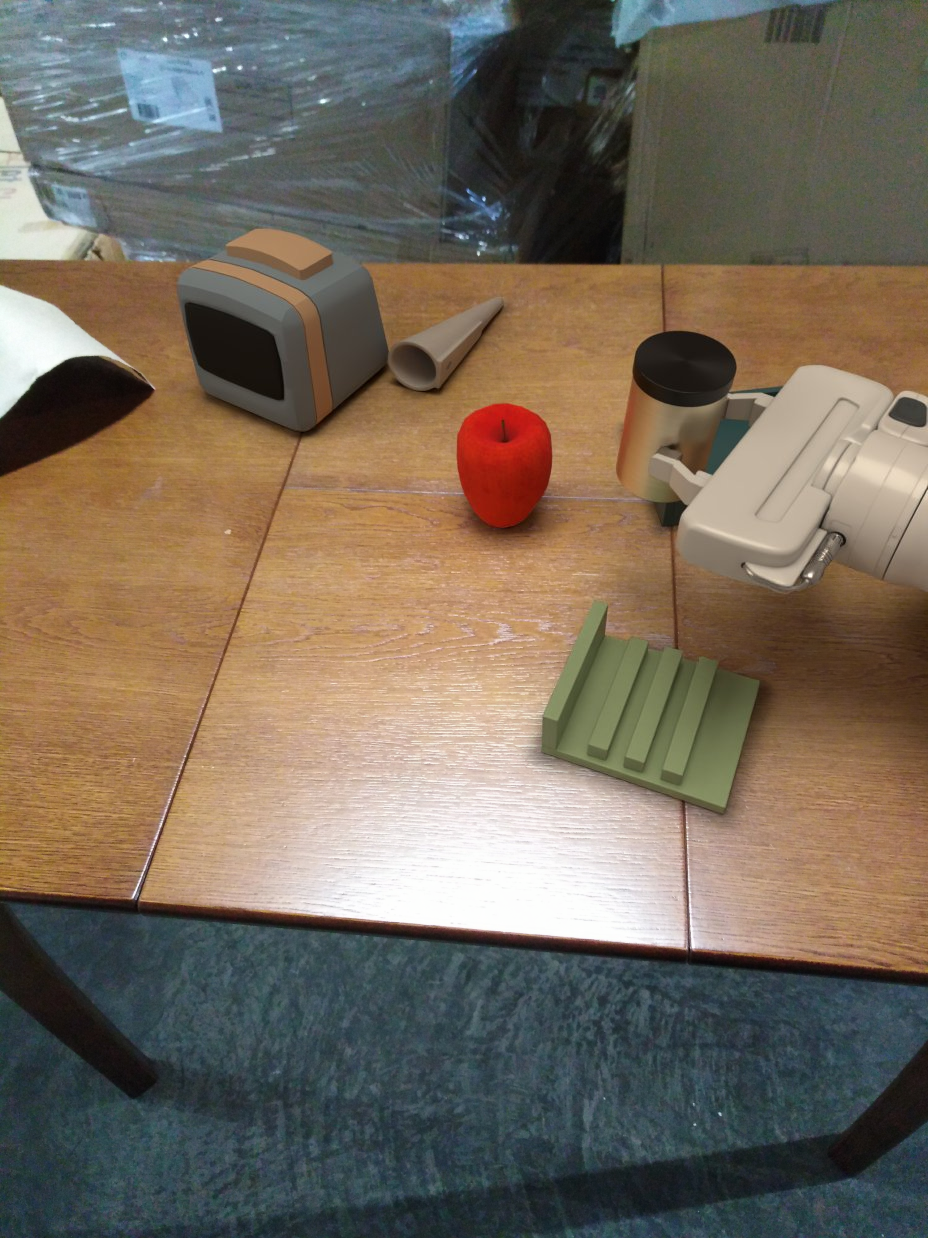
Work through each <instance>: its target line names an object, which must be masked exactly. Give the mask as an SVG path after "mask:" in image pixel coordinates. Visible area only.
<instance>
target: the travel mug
mask: <svg viewBox="0 0 928 1238" xmlns="http://www.w3.org/2000/svg"><path fill="white" fill-rule="evenodd" d="M737 368H738V366H737V360H736V357H735V356H734V354H733V353H732V351H731V350H730V349H729V347H727V346H726V345H724V344H723V342H720V341H719V340H717V339H716V338H714V337H711V336H709V335H707V334H703V333H699V332H697V331H691V330H689V331H688V330H667V331H662V332H658V333H656V334H653V335H650V336H649V337H646V338H645V339H644V340H643V341H642V342H641V343H640V344H639V345H638V346H637V348H636V350H635V353H634V357H633V364H632V368H631V369H632V371H631V373H632V377H631V382H630V387H629V392H628V399H627V404H626V410H625V414H624V419H623V425H622V431H621V436H620V441H619V447H618V453H617V457H616V464H615V473H616V477H617V479H618V480H619V482H620V483H621V485H622V487H624V488H625V490H627V491H628V492H630V493H631V494H632V495H634V496H636V497H638V498H640V499H643V500H646V501H650V502H653V501H654V502H663V503H668V502H676V501H680V500H681V499H680V498H679V497H678V495H677V494H676V493H675V492H674V490H673V489H672V488H671V487H670V484H669V483H666V482H664V481H661V480H659V479H657V478H654V477H652V476H651V475H650V474H649V473H648V467H649V460H650V458H651V457H652V456H653V455H654V454H655V453H656V451H657V450H658V449H659V448H661V447H663V446H666V447H669V448H670V450H677V451H679V452H682V453H683V456H682V461H681V463H682V464H683V465H684V466H685V467H687V468H688V469H689V470H690V471H691V472H692V473H693V474H694V475H695V474H696V473H697V471H703V472H705V471H706V467H707V464H708V460H709V457H710V454H711V450H712V447H713V443H714V440H715V437H716V433H717V430H718V426H719V423H720V420H721V416H722V413H723V409H724V406H725V403H726V399H727V396H728V392H731V390H732V387H733V383H734V380H735V377H736V373H737V370H738V369H737ZM654 502H653V503H654Z"/></svg>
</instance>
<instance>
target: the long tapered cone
mask: <svg viewBox="0 0 928 1238" xmlns="http://www.w3.org/2000/svg"><path fill="white" fill-rule="evenodd" d="M504 303H505V302H504V298H503V297H501V296H496V297H493V298H490V299H488V300H486V301H483V302H481V303H479V304H477V305H475V306H473V307H471V308H469V309H465V310H464V311H462V312H460V313H458V314H456V315H453V316H451V317H449V318H447V319H445V320H443V321H441V322H439V323H436V324H434V325H432V326H430V327H428V328H426V329H424V330H422V331H419V332H417V333H415V334H413V335H410V336H409V337H406V338H404V339H402V340H399V341H398V342H396V343H395V344H393V345H391V347H390V349H388V350H389V353H388V361H387V364H388V368H389V370H390V372H391V374H392V376H393V378H395V379H396V380H397V381H398V382H399V383H400V384H402V385H403V386H404V387H406V388H407V389H410V390H413V391H419V392H423V391H424V392H425V391H429V390H431V389H434V388H435V389H440V388H441V387H442V385H443V384H444V383H445V382H446V380H447V379H448V378H449V376H451V374H452V373H453V372H454V370H455V369H456V368H457V366H458V365H459V364H460V363H461V361H462V360H463V359H464V358H465V356H466V355H467V354H468V352H470V350H471V349H472V347H473V346H474V345H475V344H476V343H477V341H478V340H479V339H480V338H481V336H482V331H483V330H484V329H485V328H486V326H487V325H488V324H489V323H490V322H491V321H492V319H493V318H494V317H495V316H496V314H498V312H500V310H501V309H502V307H503V305H504Z"/></svg>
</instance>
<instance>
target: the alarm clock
mask: <svg viewBox="0 0 928 1238" xmlns="http://www.w3.org/2000/svg"><path fill="white" fill-rule="evenodd" d="M176 286H177V287H176V295H177V299H178V304H179V309H180V314H181V317H182V322H183V326H184V330H185V334H186V338H187V343H188V347H189V351H190V354H191V358H192V362H193V365H194V369H195V374H196V377H197V380H198V383H199V385H200V386H201V389H202V390H203V391H204V392H205V393H207V394H208V395H210V396H212V397H215V398H217V399H219V400H222V401H224V402H227V403H228V404H231V405H233V406H236V407H239V408H240V409H243V410H245V411H247V412H249V413H250V412H251V413H253V414H255V415H256V416H260V417H262V418H264V419H267V420H269V421H271V422H274V423H276V424H278V425H281V426H283V427H285V428H288V429H290V430H293V431H295V432H303V433H305V432H307V431H309V430H311V429H313V428H314V427H315V426H317V424H319V423H320V422H322V420H323V419H324V418H326V417H327V416H328V415H329V414H330V413H331V412H333V411H334V410H335V409H336V408H338V406H340V404H342V403H343V402H345V400H346V399H347V398H349V397H350V396H352V394H354V392H356V391H357V390H358V389H359V388H360V387H361V386H363V385H364V384H365V383H366V382H368V381H369V380H370V379H371V378H372V377H373V376H375V374H377V373H378V372H379V371H380V370H381V369H382V368H384V367H385V366H386V365H387V364H388V353H389V350H390V349H389V346H388V341H387V337H386V333H385V328H384V324H383V320H382V315H381V311H380V307H379V301H378V299H377V294H376V290H375V285H374V281H373V277H372V275H371V273H370V271H369V269H368V268H366V266H364V265H363V264H362V263H360V262H358V261H357V260H355V259H352V258H351V257H348V256H346V255H344V254H342V253H339V252H337V251H334V250H332V249H330V248H327V247H325V246H323V245H321V244H319V243H318V242H315V241H313V240H311V239H309V238H307V237H304V236H301V235H299V234H296V233H294V232H289V231H286V230H280V229H273V228H254V229H253V230H250V231H249V232H247V233H244V234H243V235H241V236H239V237H238V238H235V239H233V240H231V241H229V242H228V243H226V244H225V250H223V251H221V252H218V253H216V254H214V255H212V256H210V257H208V258H206V259H204V260H201V261H199V262H198V263H196V264H194V265H192V266H190V267H187V268H186V269H184V271H183V272H182V273H181V274H180V275H179V277H178V278H177V285H176Z"/></svg>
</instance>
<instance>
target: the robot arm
mask: <svg viewBox="0 0 928 1238" xmlns="http://www.w3.org/2000/svg"><path fill="white" fill-rule="evenodd" d="M782 386H783V388H782V389H781V390H780V391H779V393H778V394H777V395H776V396H775V397H772V396H770V395H767V394H764V393H737V394H730V393H728V396H727V399H726V403H725V406H724V409H723V413H722V416H721V420H720V423H721V422H722V421H723V420H724V419H731V420H743V421H749V426H750V427H751V428H750V429H749V430H748V431H747V433H746V434H745V435H744V437H743V438H742V439H741V440H740V442H739V443H738V444H737V445H736V447H735V448H734V449H733V450H732V452H731V453H730V454H729V455H728V457H727V458H726V459H725V460H724V462H723V463H722V464H721V465H720V467H719V468H718V469H717V470H716V472H715V473H714V474H713V475H711V474H708V473H705V472H703V471H697V473H696V474H695V475H694V474H693V473H692V472H691V471H690V470H689V469H688V468H687V467H685V466H684V465H683V464H682V463H681V461H682V456H683V453H682V452H679V451H677V450H670V448H669V447H666V446H663V447H661V448H659V449H658V450H657V451H656V453H655V454H654V455H653V456H652V457H651V458H650V460H649V467H648V473H649V474H650V475H651V476H652V477H654V478H657V479H659V480H661V481H664V482H666V483H669V484H670V487H671V488H672V489H673V490H674V492H675V493H676V494H677V495H678V497H679V498H680V499H681V500H682V502H683V503H684V504H685V505H688V507H687V508H686V509H685V511H684V512H683V513H682V515H681V518H680V521H679V525H678V526H677V531H676V537H675V542H674V547H675V549H676V552H677V553H678V554H679V556H680V558H681V559H682V561H684V563H688V564H690V565H692V566H693V567H696V568H698V569H702V570H704V571H706V572H710V573H713V574H716V575H719V576H721V577H724V578H728V579H731V580H734V581H738V582H742V583H744V584H748V585H752V586H757V587H762V588H764V587H765V588H766V589H769V590H772V591H773V592H776V593H778V594H785V595H788V594H790V593H795V592H800V591H802V590H805V589H806V588H808V589H811V588H814V587H815V586H817V585H818V584H819V582H820V581H821V580H822V578H823V576H824V575H825V570H826V568H827V567H828V566H829V565H830V563H832V562H835V563H838V564H840V565H842V566H845V567H848V568H850V569H853V570H855V571H858V572H860V573H861V574H865V575H867V576H869V577H871V578H874V579H877V580H879V581H882V582H884V583H886V584H889V585H896V586H903V587H904V586H905V587H909V588H913V589H916V590H920V591H921V592H923V593H926V594H928V396H926V395H925V394H923V393H919V392H915V391H912V390H902V391H900V392H899V393H898V394H897V395H896V396H894V393H893V392H892V390H891V389H890V388H888V386H886V385H884V384H882V383H880V382H878V381H875V380H872V379H870V378H867V377H864V376H861V375H858V374H856V373H852V372H849V371H846V370H842V369H839V368H836V367H832V366H828V365H823V364H809V365H801V366H799V367H798V368H797V369H796V370H795V371H794V372H793V374H792V375H791V376H790V377H789V379H788V380H787V381H786V382H785V384H784V385H782ZM720 423H719V424H720ZM798 582H800V583H798ZM797 583H798V584H797Z"/></svg>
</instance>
